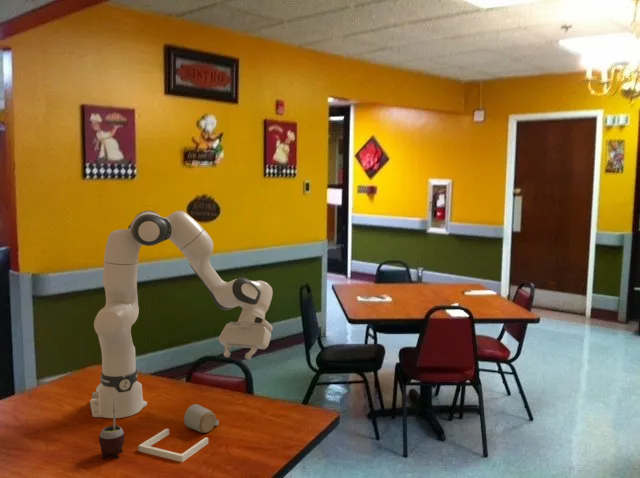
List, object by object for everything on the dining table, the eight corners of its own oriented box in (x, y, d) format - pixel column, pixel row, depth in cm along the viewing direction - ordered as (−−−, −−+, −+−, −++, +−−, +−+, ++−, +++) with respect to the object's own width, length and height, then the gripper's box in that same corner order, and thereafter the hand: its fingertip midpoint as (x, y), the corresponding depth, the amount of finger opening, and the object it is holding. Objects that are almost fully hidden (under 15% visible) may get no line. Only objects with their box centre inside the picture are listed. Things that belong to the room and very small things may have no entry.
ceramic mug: (200, 437, 183) (200, 413, 182) (183, 430, 188) (183, 407, 187) (224, 426, 192) (225, 404, 191) (207, 420, 197) (207, 398, 196)
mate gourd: (107, 463, 166) (106, 413, 165) (93, 454, 171) (92, 405, 170) (131, 454, 172) (129, 405, 170) (116, 446, 177) (115, 398, 175)
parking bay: (138, 451, 174) (138, 445, 173) (166, 433, 185) (166, 428, 185) (182, 462, 167) (182, 456, 167) (208, 443, 179) (208, 437, 179)
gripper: (223, 317, 214) (209, 351, 207) (268, 319, 204) (255, 355, 197) (232, 325, 218) (218, 358, 211) (277, 328, 208) (264, 363, 201)
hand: (236, 357), depth 204 cm, fingers open, 8 cm apart
